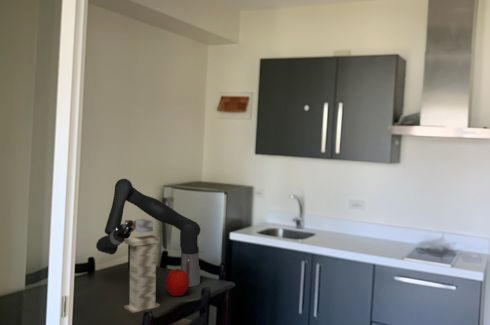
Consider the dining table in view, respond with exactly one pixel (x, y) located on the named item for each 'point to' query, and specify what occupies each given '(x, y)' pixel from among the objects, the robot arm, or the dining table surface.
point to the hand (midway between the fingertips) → (134, 222)
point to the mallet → (142, 225)
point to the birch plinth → (142, 273)
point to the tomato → (177, 282)
